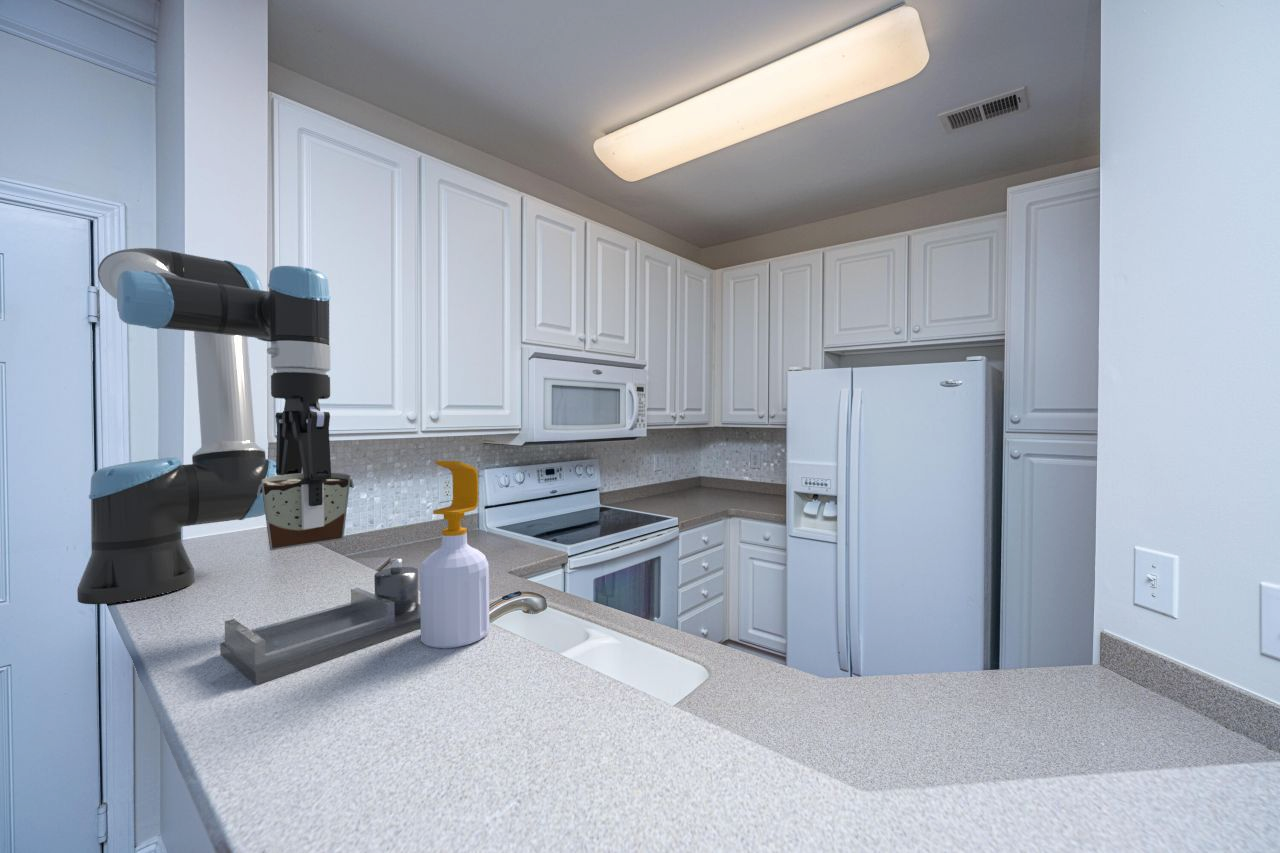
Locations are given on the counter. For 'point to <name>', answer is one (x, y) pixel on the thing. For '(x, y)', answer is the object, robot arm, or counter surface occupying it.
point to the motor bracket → (327, 628)
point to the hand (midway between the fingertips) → (303, 524)
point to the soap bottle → (455, 573)
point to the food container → (287, 510)
